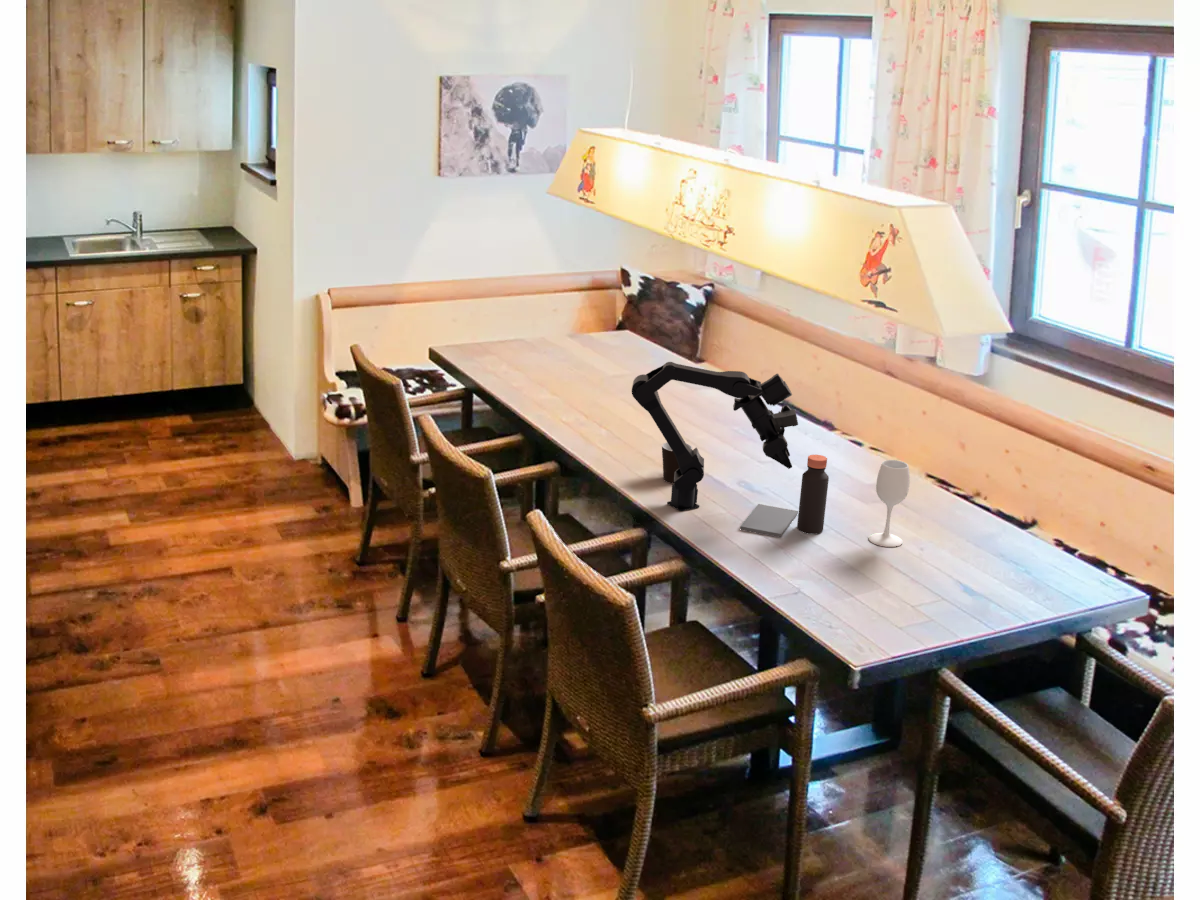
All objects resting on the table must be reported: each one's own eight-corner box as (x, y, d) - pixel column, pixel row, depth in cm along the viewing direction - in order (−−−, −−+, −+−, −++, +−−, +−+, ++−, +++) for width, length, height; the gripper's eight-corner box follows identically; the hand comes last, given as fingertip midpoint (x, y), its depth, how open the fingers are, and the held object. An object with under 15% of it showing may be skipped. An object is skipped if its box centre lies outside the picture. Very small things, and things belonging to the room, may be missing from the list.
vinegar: (794, 532, 338) (802, 459, 331) (799, 523, 344) (806, 451, 337) (820, 536, 336) (829, 463, 329) (824, 527, 342) (832, 455, 335)
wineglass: (867, 544, 332) (877, 467, 325) (869, 532, 340) (878, 456, 333) (902, 549, 330) (912, 471, 323) (903, 536, 338) (913, 460, 331)
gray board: (739, 529, 337) (740, 526, 337) (758, 507, 353) (758, 503, 353) (781, 537, 334) (781, 534, 333) (797, 514, 350) (797, 511, 349)
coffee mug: (678, 487, 365) (681, 453, 362) (653, 479, 370) (655, 446, 367) (701, 477, 374) (703, 444, 371) (676, 469, 379) (678, 437, 376)
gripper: (787, 409, 331) (818, 458, 335) (783, 388, 349) (813, 435, 352) (749, 431, 334) (781, 479, 337) (747, 410, 351) (777, 456, 355)
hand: (789, 462), depth 345 cm, fingers open, 9 cm apart
